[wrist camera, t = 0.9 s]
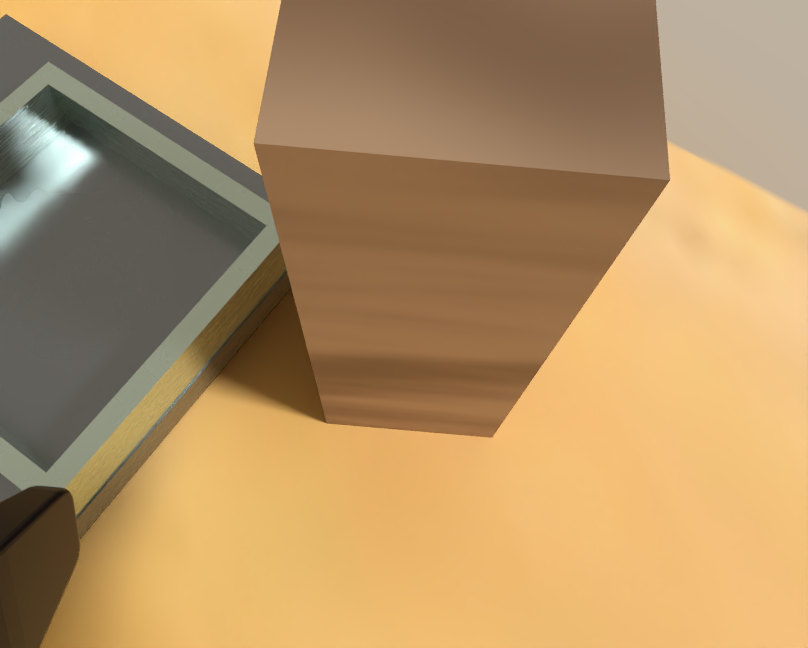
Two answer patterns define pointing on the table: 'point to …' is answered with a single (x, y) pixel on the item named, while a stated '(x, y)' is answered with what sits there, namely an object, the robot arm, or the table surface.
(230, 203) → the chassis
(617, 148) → the tall wooden pillar
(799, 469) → the table surface
